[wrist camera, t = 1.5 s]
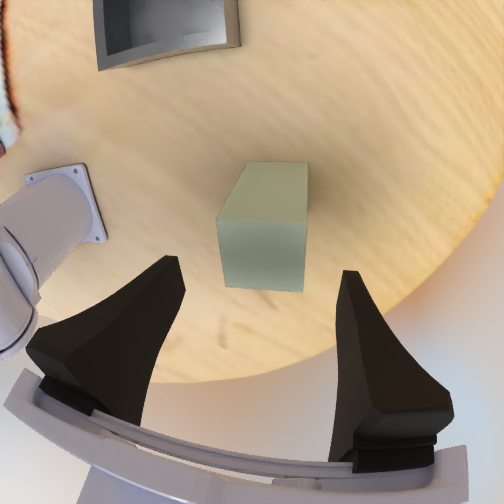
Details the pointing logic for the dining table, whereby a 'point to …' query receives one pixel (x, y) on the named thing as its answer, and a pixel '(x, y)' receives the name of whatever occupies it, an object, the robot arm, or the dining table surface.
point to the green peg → (265, 227)
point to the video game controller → (1, 150)
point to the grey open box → (161, 29)
